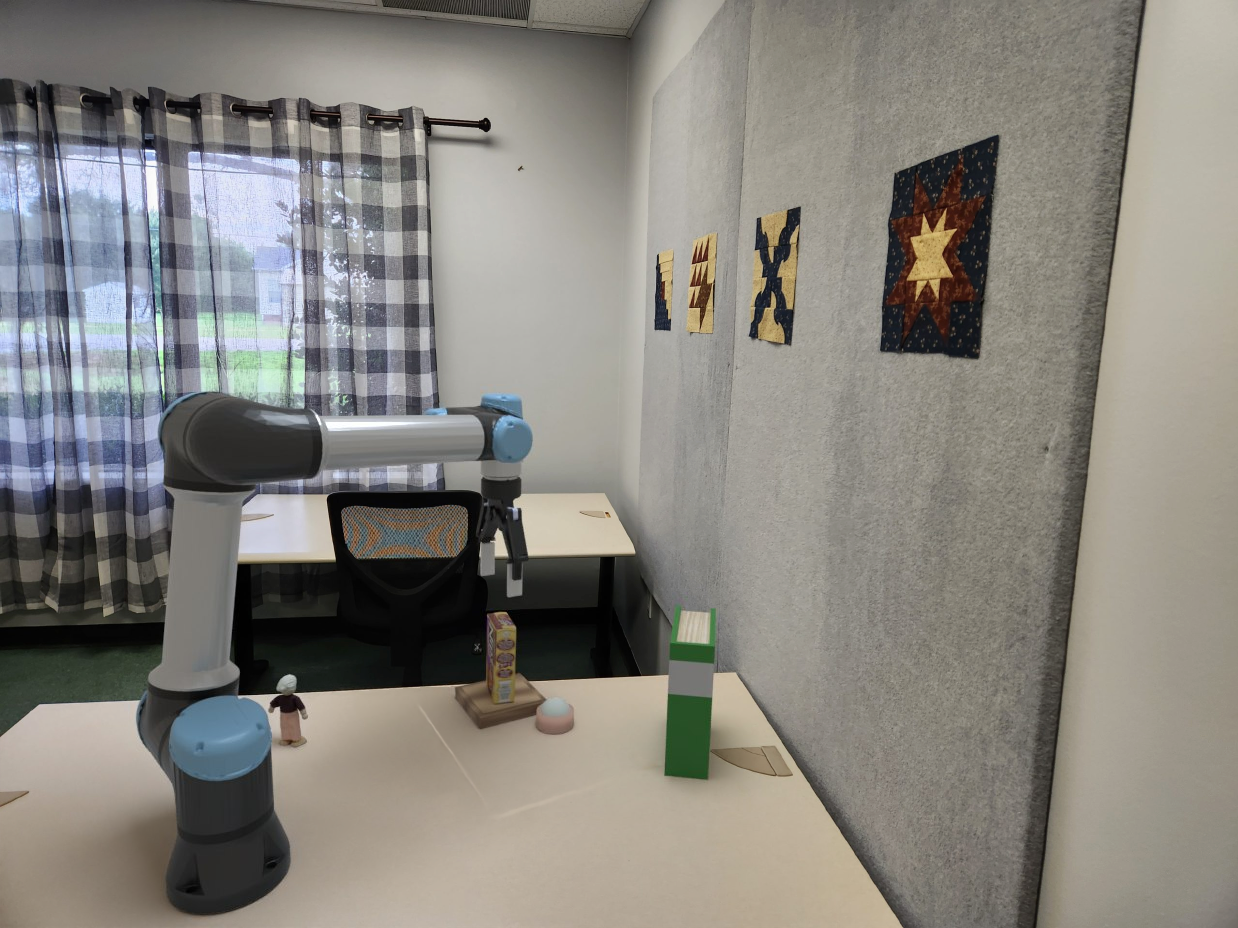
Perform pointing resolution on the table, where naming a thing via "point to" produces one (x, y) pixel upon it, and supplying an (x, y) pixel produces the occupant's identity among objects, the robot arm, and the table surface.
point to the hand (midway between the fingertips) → (500, 584)
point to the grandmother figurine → (289, 712)
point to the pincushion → (555, 716)
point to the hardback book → (690, 694)
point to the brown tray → (490, 714)
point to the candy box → (500, 657)
